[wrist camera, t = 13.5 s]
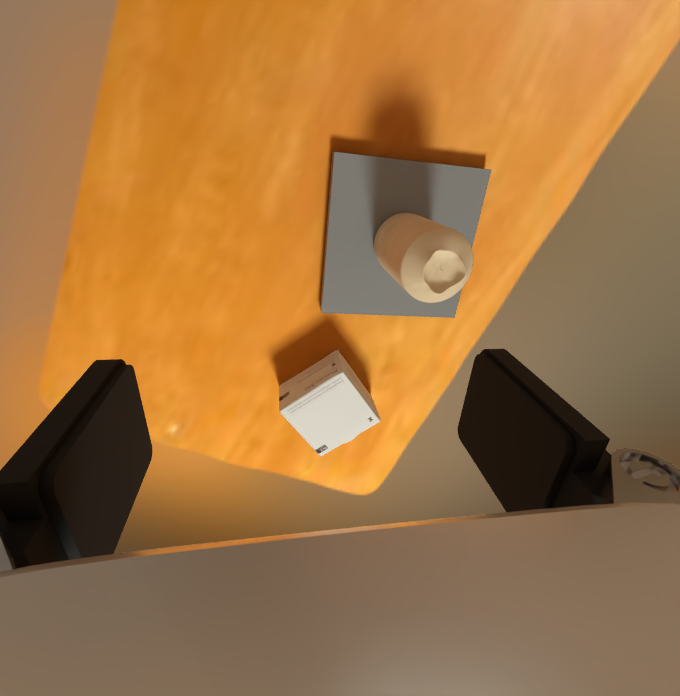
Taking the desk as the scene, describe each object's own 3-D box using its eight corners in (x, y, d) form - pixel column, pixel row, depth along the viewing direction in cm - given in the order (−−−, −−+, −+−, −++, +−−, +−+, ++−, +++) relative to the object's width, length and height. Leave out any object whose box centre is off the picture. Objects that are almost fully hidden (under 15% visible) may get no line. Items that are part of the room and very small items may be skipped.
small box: (336, 346, 40) (344, 370, 36) (372, 395, 44) (383, 422, 39) (277, 384, 41) (277, 412, 37) (316, 428, 45) (321, 459, 40)
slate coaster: (332, 151, 31) (334, 151, 30) (484, 169, 34) (491, 169, 33) (320, 308, 38) (321, 312, 37) (449, 313, 40) (454, 317, 39)
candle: (439, 219, 34) (495, 241, 25) (419, 277, 36) (465, 315, 28) (383, 205, 33) (422, 222, 24) (366, 266, 35) (396, 302, 26)
